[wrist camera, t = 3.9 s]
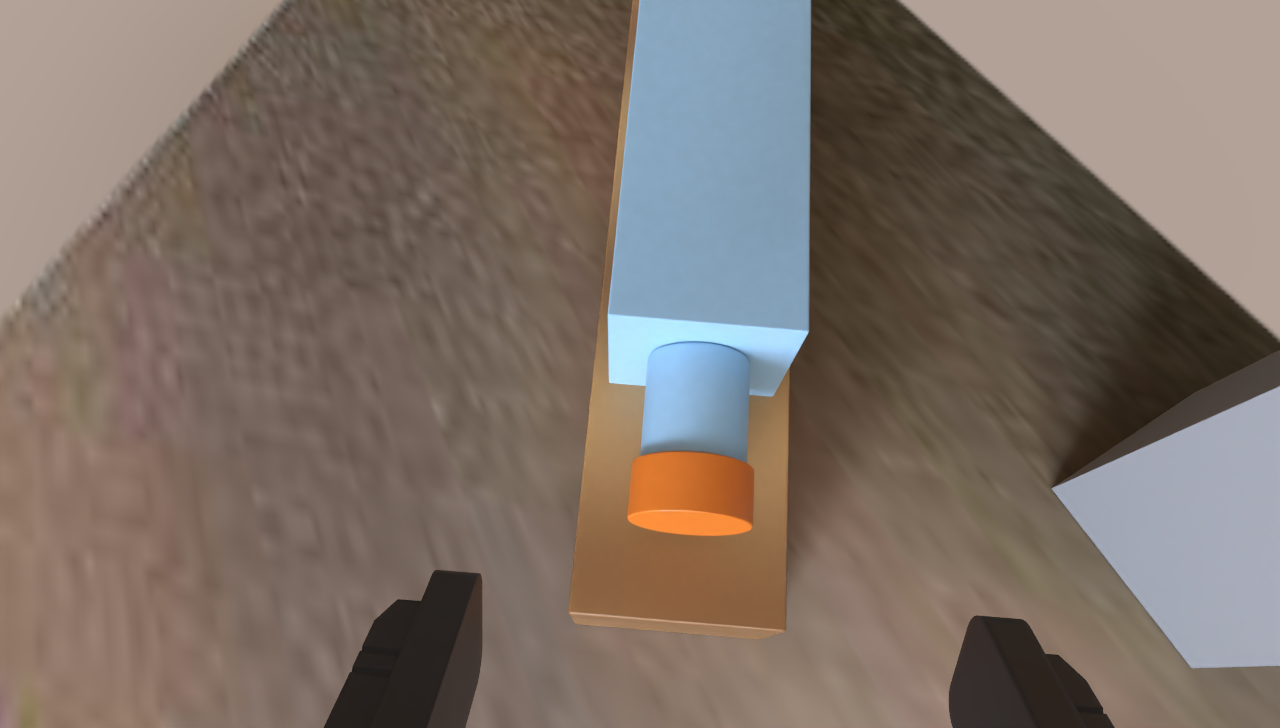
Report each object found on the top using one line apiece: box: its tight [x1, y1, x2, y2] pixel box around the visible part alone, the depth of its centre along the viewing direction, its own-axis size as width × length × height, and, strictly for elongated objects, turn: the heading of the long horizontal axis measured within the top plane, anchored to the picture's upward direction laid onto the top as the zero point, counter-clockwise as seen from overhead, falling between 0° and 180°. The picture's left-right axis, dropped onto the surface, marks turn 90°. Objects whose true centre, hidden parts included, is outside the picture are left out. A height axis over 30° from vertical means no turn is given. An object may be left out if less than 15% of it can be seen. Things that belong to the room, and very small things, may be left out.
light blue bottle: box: [608, 0, 811, 536], centre depth 24 cm, size 18×5×5 cm, turn 176°
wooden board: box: [568, 0, 790, 639], centre depth 29 cm, size 22×6×4 cm, turn 176°
